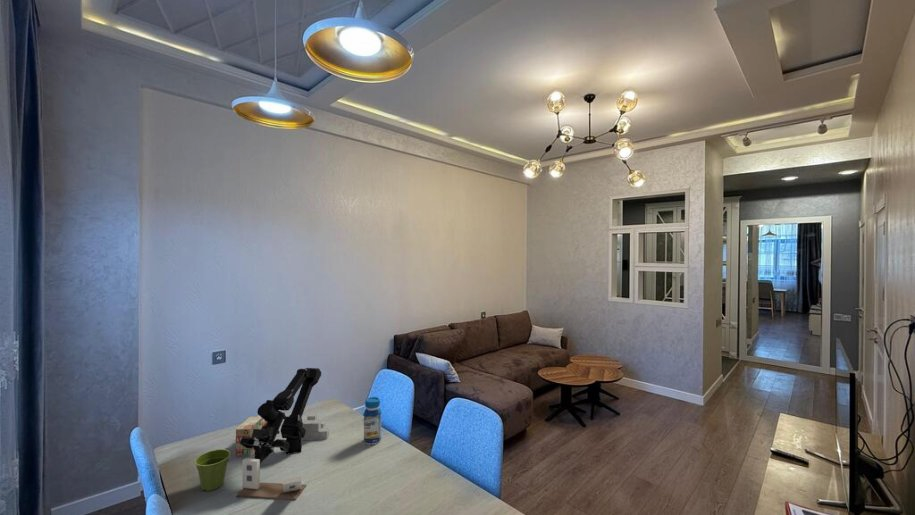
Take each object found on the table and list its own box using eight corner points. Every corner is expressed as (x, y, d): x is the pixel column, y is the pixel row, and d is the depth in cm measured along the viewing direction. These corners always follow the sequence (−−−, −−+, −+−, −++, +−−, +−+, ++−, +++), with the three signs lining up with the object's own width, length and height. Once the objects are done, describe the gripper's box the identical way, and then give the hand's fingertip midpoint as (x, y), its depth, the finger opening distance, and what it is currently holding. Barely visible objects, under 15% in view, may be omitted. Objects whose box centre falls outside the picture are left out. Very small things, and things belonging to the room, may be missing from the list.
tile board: (249, 483, 148) (249, 481, 147) (306, 486, 146) (306, 484, 146) (235, 496, 140) (235, 495, 140) (295, 499, 138) (295, 498, 138)
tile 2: (245, 486, 145) (245, 458, 144) (259, 487, 144) (259, 459, 144) (241, 489, 142) (241, 461, 142) (256, 490, 142) (256, 462, 141)
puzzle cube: (327, 439, 182) (327, 423, 182) (301, 440, 181) (301, 423, 181) (333, 427, 194) (333, 412, 194) (309, 428, 193) (309, 413, 193)
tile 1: (283, 488, 142) (283, 479, 135) (301, 484, 144) (301, 475, 137) (283, 494, 141) (282, 485, 133) (301, 490, 143) (301, 481, 136)
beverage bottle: (385, 439, 182) (385, 398, 182) (372, 447, 175) (372, 404, 175) (372, 434, 187) (372, 394, 186) (359, 442, 179) (359, 400, 179)
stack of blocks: (259, 432, 189) (259, 408, 188) (272, 432, 189) (271, 408, 189) (235, 456, 167) (235, 428, 167) (250, 455, 167) (249, 428, 167)
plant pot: (203, 499, 138) (203, 469, 138) (188, 488, 144) (188, 459, 144) (237, 482, 148) (236, 454, 148) (221, 473, 154) (221, 445, 154)
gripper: (242, 417, 152) (221, 459, 141) (285, 419, 149) (268, 462, 139) (255, 427, 160) (236, 468, 149) (296, 430, 157) (280, 471, 146)
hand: (255, 467), depth 145 cm, fingers closed
